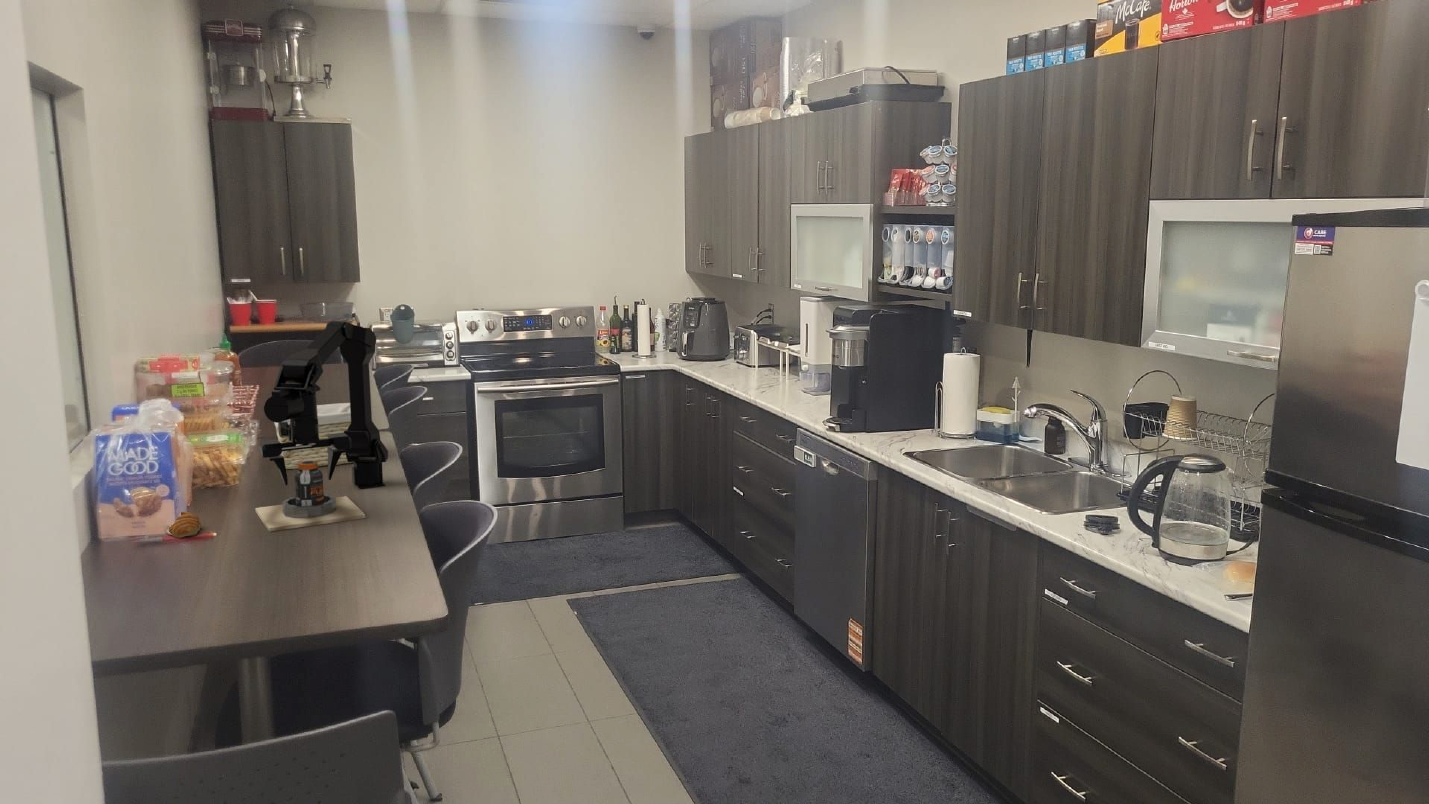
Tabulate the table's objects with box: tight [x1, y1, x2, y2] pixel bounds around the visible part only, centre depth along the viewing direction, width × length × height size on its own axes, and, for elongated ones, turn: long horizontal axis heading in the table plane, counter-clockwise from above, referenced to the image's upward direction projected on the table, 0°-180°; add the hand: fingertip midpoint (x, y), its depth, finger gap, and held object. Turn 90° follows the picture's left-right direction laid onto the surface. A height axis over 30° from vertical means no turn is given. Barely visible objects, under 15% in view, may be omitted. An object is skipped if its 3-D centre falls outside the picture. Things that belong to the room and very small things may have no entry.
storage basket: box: [273, 402, 352, 470], centre depth 284 cm, size 24×16×15 cm
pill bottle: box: [294, 461, 325, 506], centre depth 233 cm, size 6×6×11 cm
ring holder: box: [255, 493, 366, 533], centre depth 234 cm, size 20×18×3 cm
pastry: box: [169, 511, 202, 539], centre depth 220 cm, size 9×7×4 cm
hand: (308, 482), depth 233 cm, fingers open, 9 cm apart
